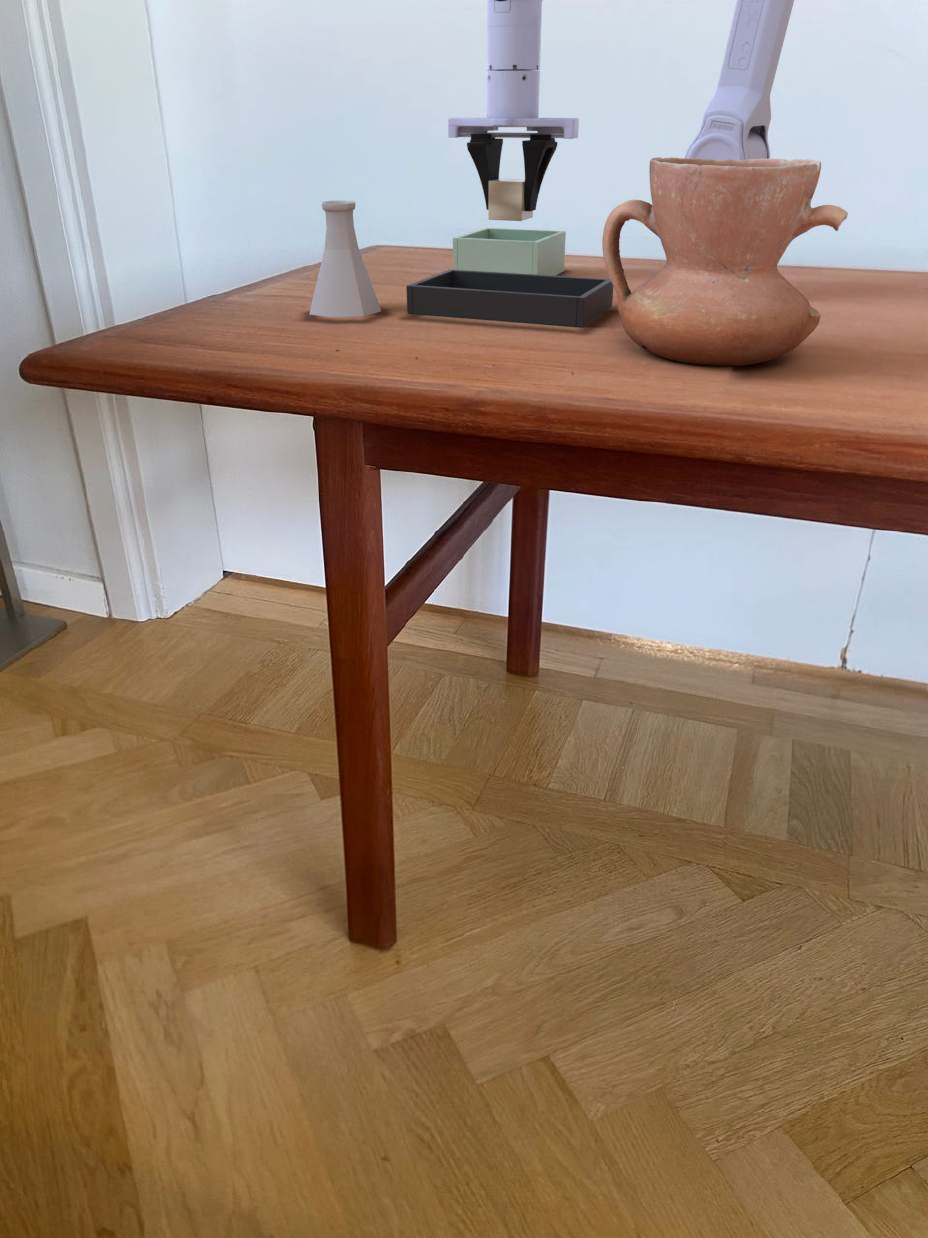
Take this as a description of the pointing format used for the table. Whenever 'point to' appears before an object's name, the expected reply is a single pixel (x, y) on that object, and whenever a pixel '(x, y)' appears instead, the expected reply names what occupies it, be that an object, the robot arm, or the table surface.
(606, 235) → the ceramic jug
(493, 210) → the block
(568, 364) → the table surface
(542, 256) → the bin
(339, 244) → the flask
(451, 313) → the pan
